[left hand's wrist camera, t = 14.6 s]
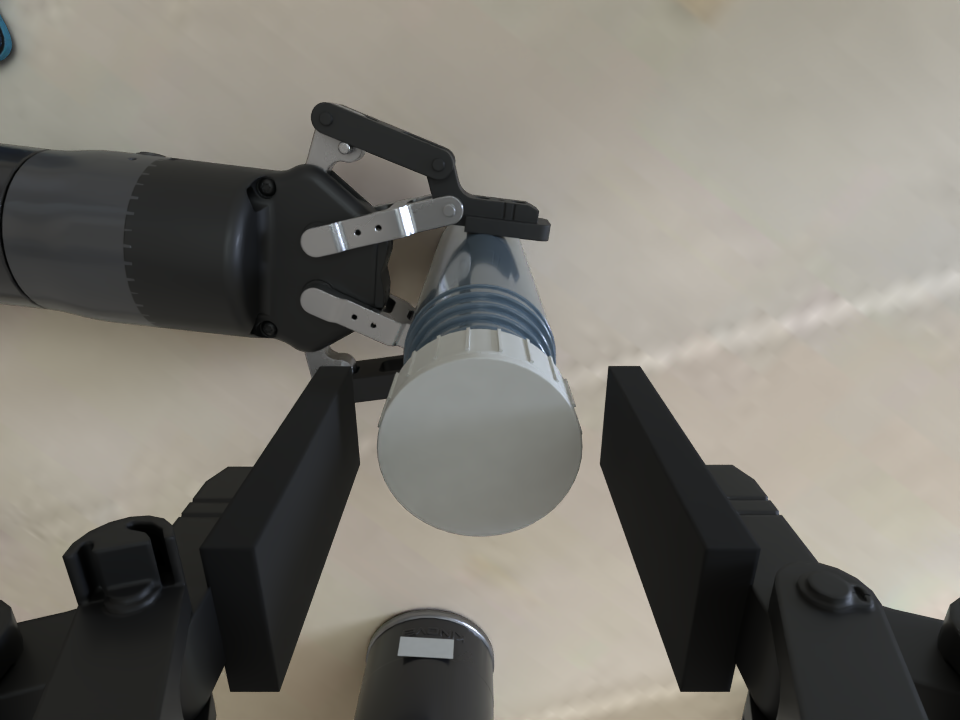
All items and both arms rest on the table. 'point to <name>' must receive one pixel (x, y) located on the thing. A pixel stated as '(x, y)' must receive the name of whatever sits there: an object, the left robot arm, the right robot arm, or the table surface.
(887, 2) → the table surface
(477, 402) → the cap
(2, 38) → the smartphone
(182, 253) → the right robot arm
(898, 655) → the left robot arm
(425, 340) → the bottle
